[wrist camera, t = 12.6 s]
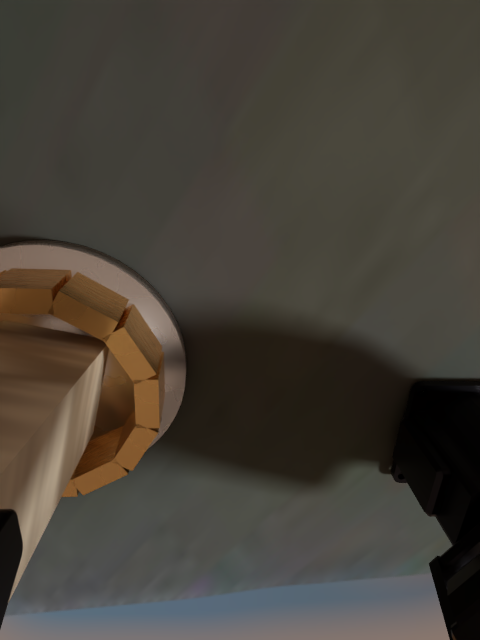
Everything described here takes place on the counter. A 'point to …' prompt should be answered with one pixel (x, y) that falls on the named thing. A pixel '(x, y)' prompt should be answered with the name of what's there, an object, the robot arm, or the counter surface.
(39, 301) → the segmented gold bowl
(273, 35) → the counter surface
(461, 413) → the robot arm
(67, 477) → the post
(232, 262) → the counter surface
